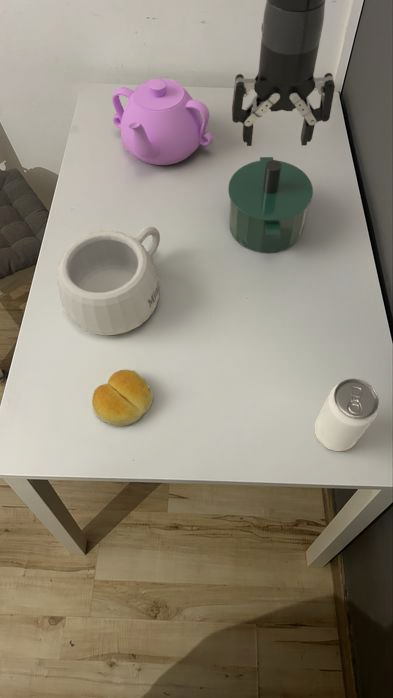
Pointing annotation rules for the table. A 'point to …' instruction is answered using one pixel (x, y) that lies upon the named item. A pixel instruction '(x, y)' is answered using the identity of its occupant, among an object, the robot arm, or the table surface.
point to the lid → (270, 190)
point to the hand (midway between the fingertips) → (276, 142)
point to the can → (346, 414)
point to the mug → (109, 281)
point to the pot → (265, 230)
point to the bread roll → (122, 398)
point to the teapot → (161, 122)
